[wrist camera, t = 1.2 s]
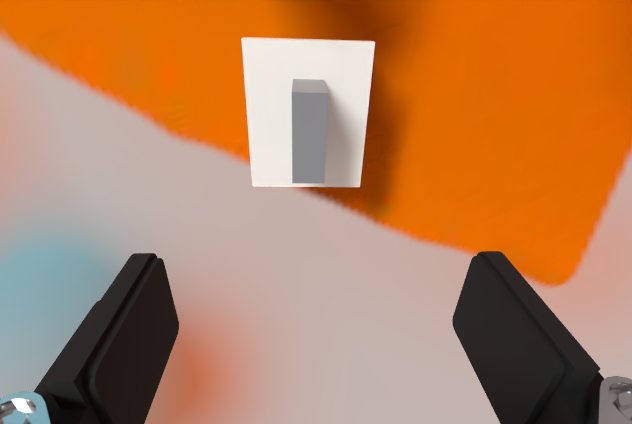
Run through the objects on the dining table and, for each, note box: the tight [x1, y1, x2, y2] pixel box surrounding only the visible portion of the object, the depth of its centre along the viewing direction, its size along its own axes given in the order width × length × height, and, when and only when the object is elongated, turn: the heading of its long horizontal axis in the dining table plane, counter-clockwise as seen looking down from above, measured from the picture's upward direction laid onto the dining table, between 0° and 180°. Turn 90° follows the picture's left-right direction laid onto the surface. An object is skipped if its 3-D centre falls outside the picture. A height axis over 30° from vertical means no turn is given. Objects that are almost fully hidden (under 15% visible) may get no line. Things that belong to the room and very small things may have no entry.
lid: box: [242, 37, 375, 187], centre depth 25 cm, size 11×9×6 cm
